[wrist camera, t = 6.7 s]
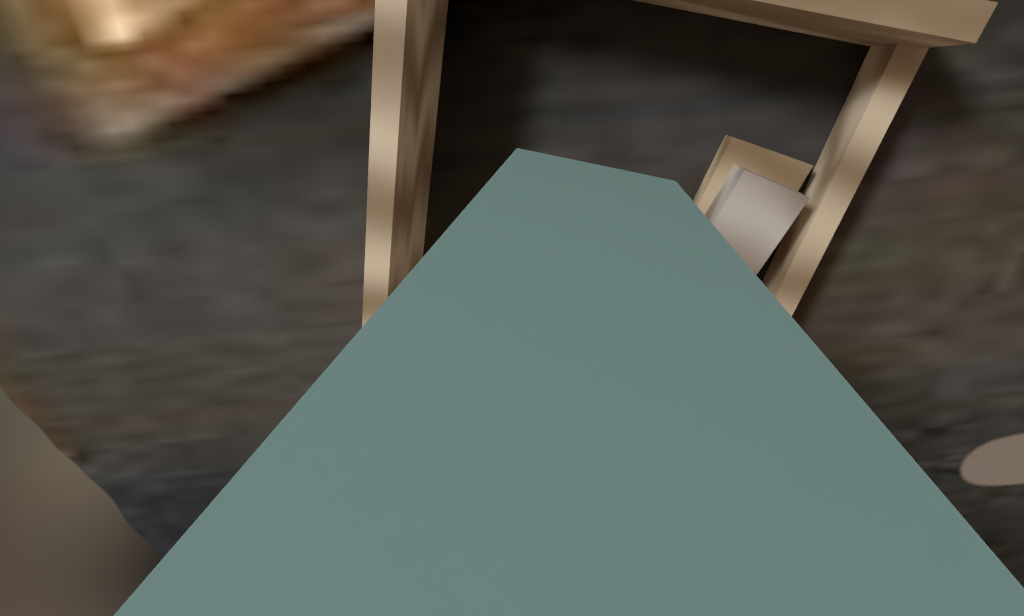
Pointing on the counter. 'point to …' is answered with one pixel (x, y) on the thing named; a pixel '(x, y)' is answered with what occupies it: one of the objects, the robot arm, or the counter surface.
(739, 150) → the offcut lower
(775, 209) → the offcut upper
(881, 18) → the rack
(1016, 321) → the counter surface
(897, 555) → the teal rectangular block
